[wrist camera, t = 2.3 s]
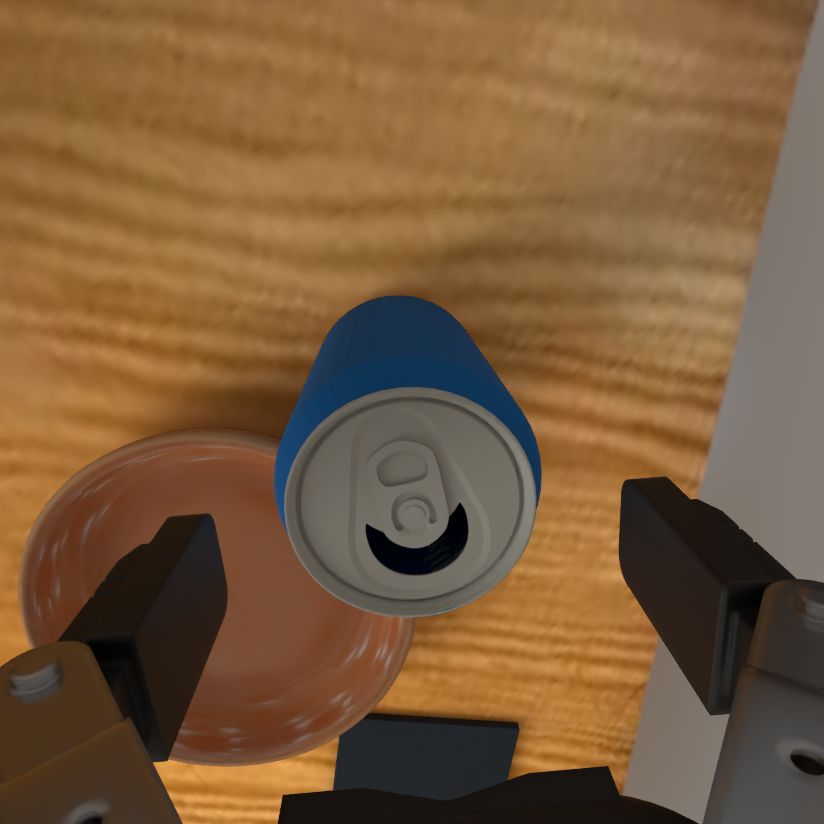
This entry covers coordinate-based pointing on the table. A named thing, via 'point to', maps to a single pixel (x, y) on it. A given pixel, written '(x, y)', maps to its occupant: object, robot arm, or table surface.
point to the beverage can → (406, 464)
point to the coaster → (424, 755)
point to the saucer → (247, 594)
